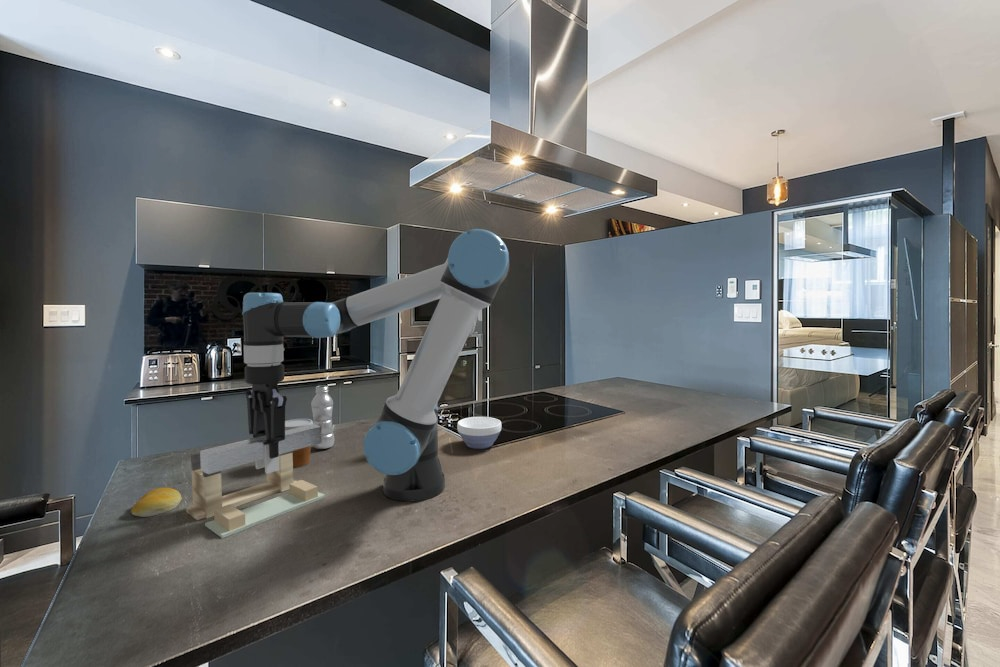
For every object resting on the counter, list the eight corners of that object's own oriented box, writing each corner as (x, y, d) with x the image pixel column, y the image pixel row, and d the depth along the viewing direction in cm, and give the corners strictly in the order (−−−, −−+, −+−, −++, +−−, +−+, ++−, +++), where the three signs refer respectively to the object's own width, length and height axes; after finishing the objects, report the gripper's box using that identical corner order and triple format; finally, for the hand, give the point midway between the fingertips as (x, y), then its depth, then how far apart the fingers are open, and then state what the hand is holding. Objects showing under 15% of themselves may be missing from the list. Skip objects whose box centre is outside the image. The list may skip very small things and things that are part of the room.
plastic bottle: (339, 447, 137) (337, 385, 136) (320, 453, 131) (318, 389, 130) (326, 443, 141) (325, 383, 139) (307, 449, 135) (306, 387, 134)
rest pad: (325, 497, 101) (324, 485, 101) (222, 538, 83) (221, 523, 83) (306, 488, 106) (306, 477, 105) (205, 526, 88) (204, 511, 87)
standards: (299, 485, 107) (297, 437, 107) (198, 521, 90) (196, 463, 89) (284, 478, 112) (282, 432, 111) (185, 511, 94) (182, 456, 93)
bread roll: (126, 521, 90) (124, 503, 90) (144, 503, 98) (143, 486, 98) (173, 514, 93) (172, 497, 93) (186, 497, 101) (186, 481, 101)
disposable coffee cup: (301, 470, 117) (300, 428, 116) (271, 468, 119) (269, 426, 118) (322, 458, 126) (321, 419, 126) (294, 456, 128) (292, 417, 128)
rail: (321, 442, 102) (321, 426, 102) (208, 474, 83) (207, 454, 82) (313, 440, 104) (313, 424, 104) (200, 470, 85) (200, 450, 84)
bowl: (476, 435, 150) (476, 414, 149) (510, 443, 141) (510, 420, 141) (448, 446, 138) (447, 423, 137) (483, 455, 129) (483, 431, 129)
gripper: (301, 365, 90) (304, 472, 92) (263, 359, 100) (266, 456, 102) (265, 369, 84) (268, 484, 86) (228, 362, 94) (231, 466, 95)
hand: (267, 469), depth 94 cm, fingers closed on rail, 3 cm apart
